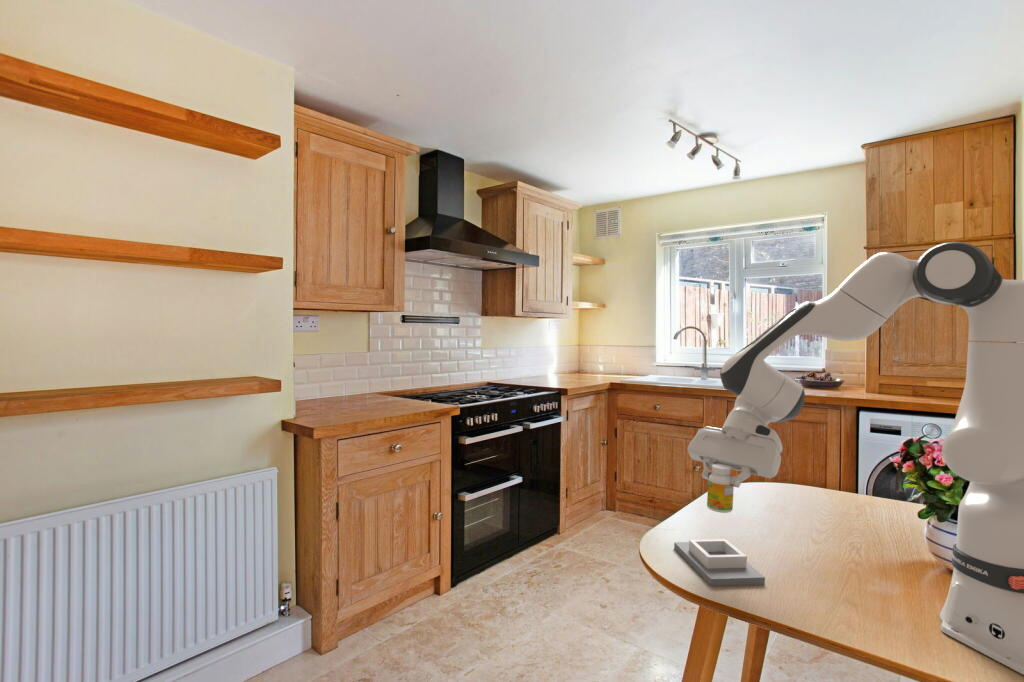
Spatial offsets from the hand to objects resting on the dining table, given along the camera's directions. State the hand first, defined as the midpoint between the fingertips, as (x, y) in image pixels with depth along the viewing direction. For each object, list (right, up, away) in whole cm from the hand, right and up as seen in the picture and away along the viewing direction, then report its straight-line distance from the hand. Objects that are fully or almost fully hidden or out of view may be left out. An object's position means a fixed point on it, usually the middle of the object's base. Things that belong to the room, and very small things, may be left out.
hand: (719, 481), depth 119 cm
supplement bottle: (0, -7, +1) cm, 7 cm away
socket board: (0, -19, +1) cm, 19 cm away
